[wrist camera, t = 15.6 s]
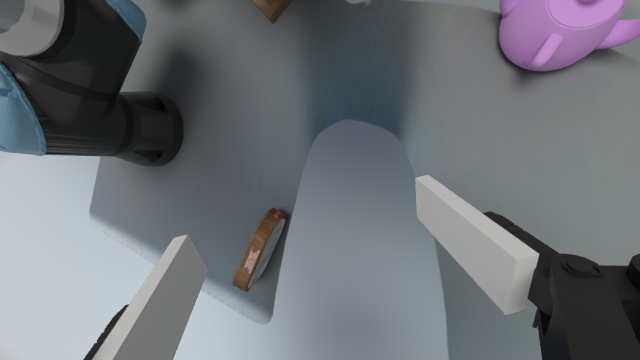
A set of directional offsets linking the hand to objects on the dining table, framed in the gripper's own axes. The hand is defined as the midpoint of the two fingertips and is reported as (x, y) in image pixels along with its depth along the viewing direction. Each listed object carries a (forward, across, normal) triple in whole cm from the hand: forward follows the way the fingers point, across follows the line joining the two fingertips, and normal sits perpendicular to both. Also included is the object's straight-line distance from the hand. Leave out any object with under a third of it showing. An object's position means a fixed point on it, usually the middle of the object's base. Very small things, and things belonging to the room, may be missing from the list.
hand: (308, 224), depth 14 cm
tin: (+26, -9, -20) cm, 34 cm away
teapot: (+22, +36, +6) cm, 43 cm away
